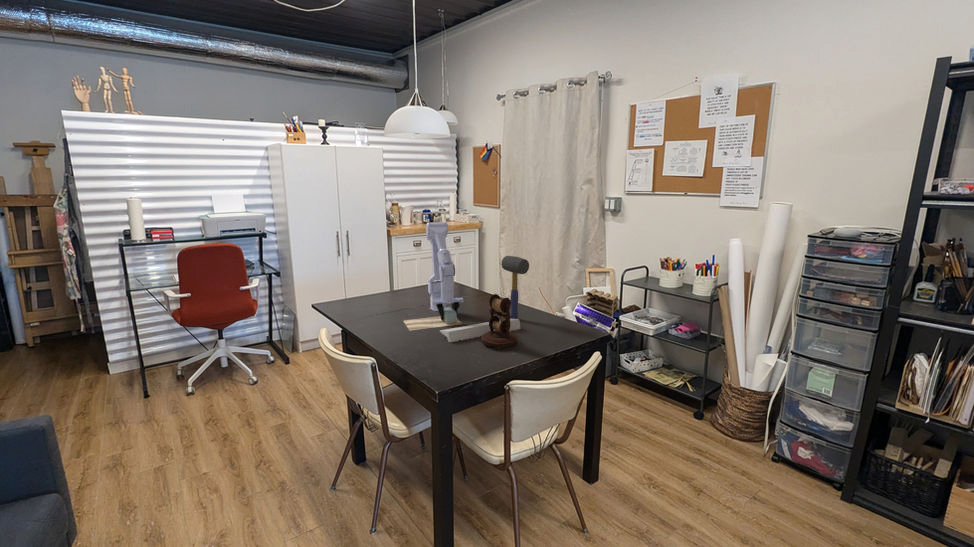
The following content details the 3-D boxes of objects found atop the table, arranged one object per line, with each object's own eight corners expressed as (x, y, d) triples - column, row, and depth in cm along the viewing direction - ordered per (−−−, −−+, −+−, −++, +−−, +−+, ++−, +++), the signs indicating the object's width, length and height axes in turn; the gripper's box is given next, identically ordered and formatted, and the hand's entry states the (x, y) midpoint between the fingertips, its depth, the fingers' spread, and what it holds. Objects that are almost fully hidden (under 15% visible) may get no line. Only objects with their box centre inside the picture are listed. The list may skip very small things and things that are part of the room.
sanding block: (440, 318, 209) (440, 308, 208) (449, 317, 211) (449, 307, 210) (447, 324, 202) (447, 313, 201) (456, 322, 204) (456, 311, 203)
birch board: (403, 323, 207) (403, 320, 207) (453, 317, 215) (453, 314, 215) (409, 333, 194) (409, 330, 194) (462, 327, 203) (462, 324, 202)
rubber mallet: (499, 317, 216) (500, 255, 209) (510, 314, 221) (511, 253, 214) (517, 324, 207) (519, 259, 200) (529, 320, 212) (530, 257, 205)
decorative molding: (440, 341, 194) (449, 343, 185) (439, 330, 194) (448, 331, 185) (509, 328, 210) (520, 329, 201) (507, 318, 210) (519, 319, 201)
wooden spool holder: (525, 344, 184) (526, 296, 179) (497, 353, 175) (497, 303, 170) (501, 334, 195) (501, 289, 190) (473, 342, 186) (473, 294, 181)
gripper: (434, 293, 198) (434, 323, 201) (465, 290, 203) (465, 319, 206) (429, 289, 204) (430, 318, 207) (460, 287, 209) (460, 315, 212)
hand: (447, 318), depth 207 cm, fingers closed on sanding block, 5 cm apart
